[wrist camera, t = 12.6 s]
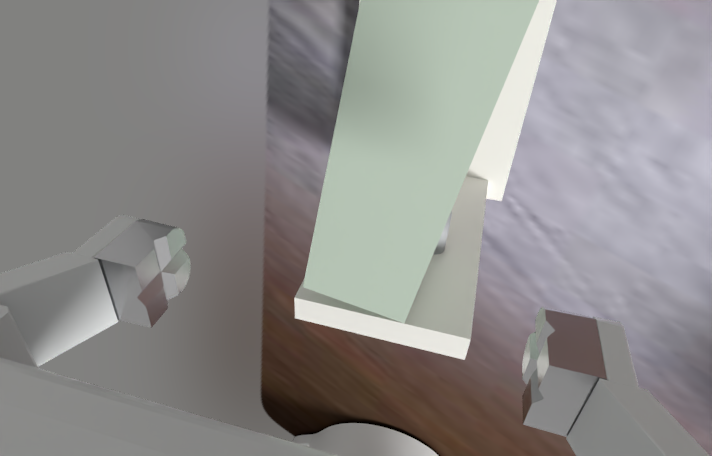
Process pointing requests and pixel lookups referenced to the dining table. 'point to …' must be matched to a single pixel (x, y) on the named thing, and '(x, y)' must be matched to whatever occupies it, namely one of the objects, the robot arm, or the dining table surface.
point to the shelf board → (407, 141)
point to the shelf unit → (453, 228)
